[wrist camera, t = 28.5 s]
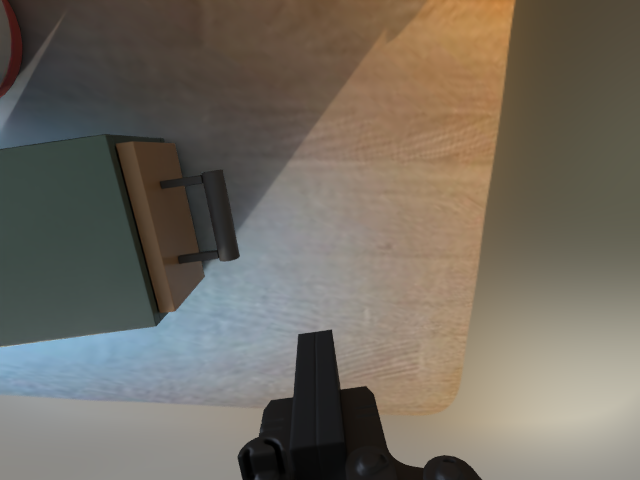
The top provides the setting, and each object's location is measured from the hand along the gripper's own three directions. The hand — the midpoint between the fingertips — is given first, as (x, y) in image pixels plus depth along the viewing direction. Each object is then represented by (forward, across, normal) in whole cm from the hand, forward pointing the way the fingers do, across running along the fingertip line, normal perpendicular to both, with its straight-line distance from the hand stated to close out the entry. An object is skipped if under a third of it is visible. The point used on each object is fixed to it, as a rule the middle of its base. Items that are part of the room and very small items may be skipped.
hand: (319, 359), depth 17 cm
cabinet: (+20, -20, +5) cm, 29 cm away
